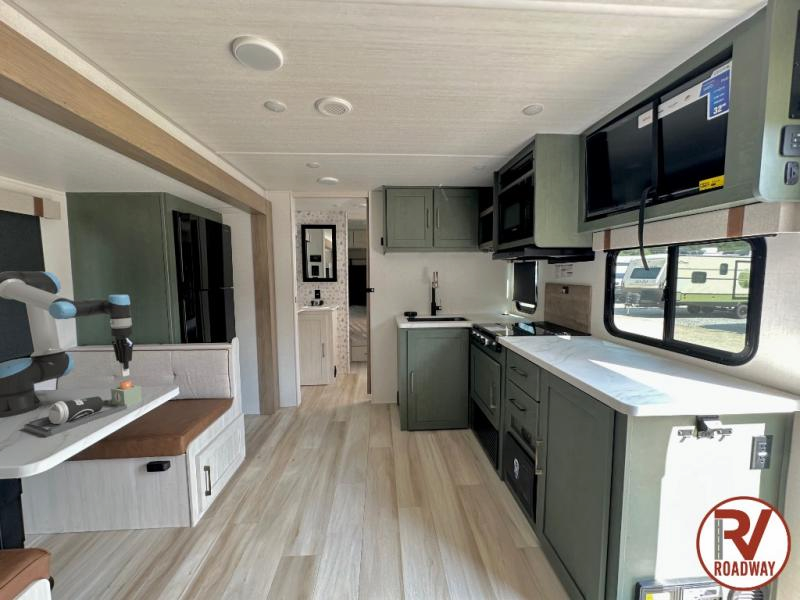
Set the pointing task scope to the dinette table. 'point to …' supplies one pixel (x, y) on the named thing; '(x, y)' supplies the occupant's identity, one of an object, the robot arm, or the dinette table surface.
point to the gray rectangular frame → (35, 425)
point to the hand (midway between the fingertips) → (125, 375)
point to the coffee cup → (73, 409)
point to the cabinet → (126, 395)
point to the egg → (125, 385)
